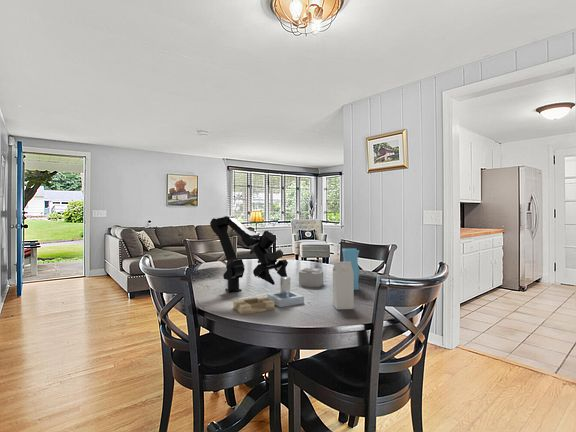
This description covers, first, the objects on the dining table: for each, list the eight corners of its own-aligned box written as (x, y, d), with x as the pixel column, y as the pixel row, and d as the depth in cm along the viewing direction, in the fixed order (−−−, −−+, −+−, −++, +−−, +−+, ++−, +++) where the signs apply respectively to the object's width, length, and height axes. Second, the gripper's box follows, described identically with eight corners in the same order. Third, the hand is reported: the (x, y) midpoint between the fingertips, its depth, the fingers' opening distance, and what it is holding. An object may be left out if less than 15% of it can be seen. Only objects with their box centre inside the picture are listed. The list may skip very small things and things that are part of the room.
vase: (359, 289, 166) (359, 250, 166) (343, 289, 166) (343, 250, 166) (356, 286, 174) (356, 248, 174) (341, 286, 174) (341, 248, 174)
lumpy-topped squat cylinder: (319, 287, 172) (319, 271, 172) (296, 285, 177) (296, 269, 176) (324, 283, 182) (324, 267, 182) (302, 281, 186) (301, 266, 186)
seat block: (267, 300, 148) (267, 293, 148) (290, 296, 154) (290, 290, 154) (279, 307, 138) (279, 300, 138) (304, 303, 144) (304, 296, 144)
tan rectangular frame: (233, 307, 138) (233, 300, 138) (263, 302, 144) (263, 296, 144) (242, 314, 129) (242, 307, 128) (274, 309, 135) (274, 301, 135)
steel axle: (278, 300, 146) (278, 277, 145) (283, 298, 149) (284, 276, 149) (286, 302, 143) (286, 279, 143) (292, 300, 147) (292, 277, 146)
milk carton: (332, 304, 141) (332, 260, 140) (349, 304, 141) (348, 260, 141) (336, 310, 134) (336, 263, 133) (353, 309, 134) (353, 262, 134)
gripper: (257, 246, 143) (276, 274, 136) (284, 242, 157) (303, 268, 151) (245, 262, 148) (263, 290, 142) (272, 257, 163) (290, 282, 156)
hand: (280, 282), depth 147 cm, fingers open, 9 cm apart
